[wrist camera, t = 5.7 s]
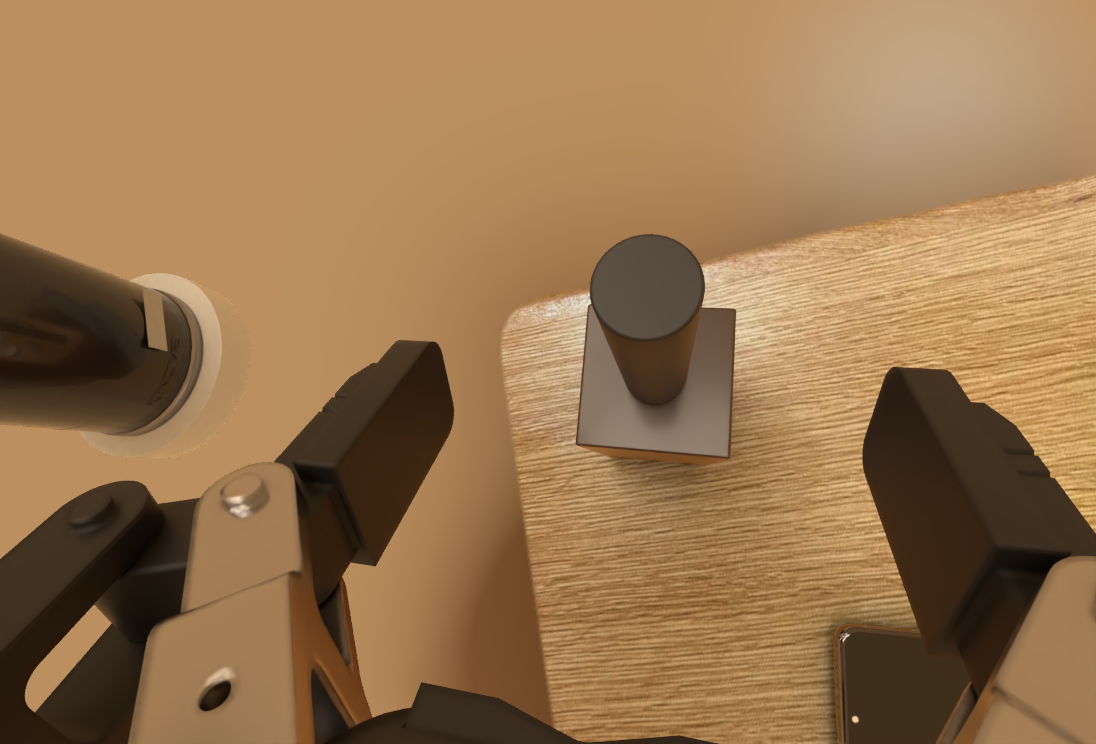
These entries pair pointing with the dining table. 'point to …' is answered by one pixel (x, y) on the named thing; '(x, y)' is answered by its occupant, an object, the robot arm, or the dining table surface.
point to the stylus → (649, 312)
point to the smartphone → (892, 686)
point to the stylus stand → (668, 428)
